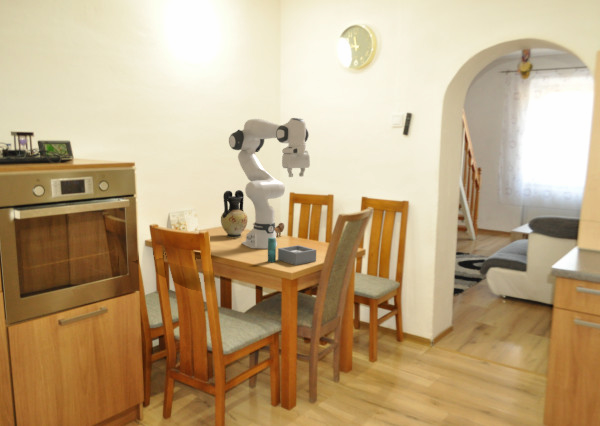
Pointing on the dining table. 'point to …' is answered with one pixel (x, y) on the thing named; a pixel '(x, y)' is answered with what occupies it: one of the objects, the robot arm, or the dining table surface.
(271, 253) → the peg
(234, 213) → the amphora
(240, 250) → the dining table surface
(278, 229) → the lion figurine
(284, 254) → the box
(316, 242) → the dining table surface
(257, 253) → the dining table surface
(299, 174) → the robot arm
